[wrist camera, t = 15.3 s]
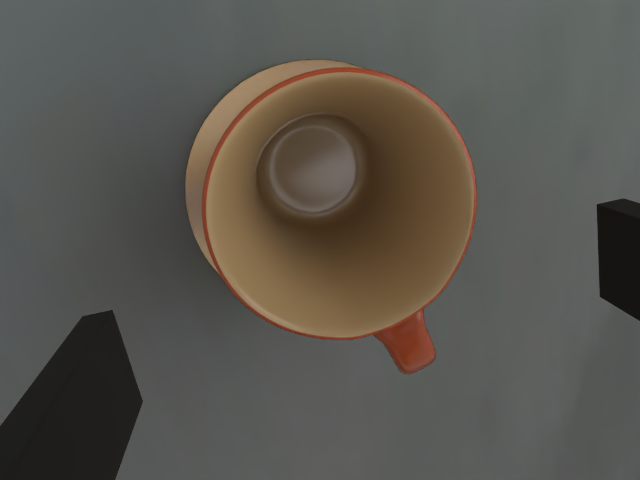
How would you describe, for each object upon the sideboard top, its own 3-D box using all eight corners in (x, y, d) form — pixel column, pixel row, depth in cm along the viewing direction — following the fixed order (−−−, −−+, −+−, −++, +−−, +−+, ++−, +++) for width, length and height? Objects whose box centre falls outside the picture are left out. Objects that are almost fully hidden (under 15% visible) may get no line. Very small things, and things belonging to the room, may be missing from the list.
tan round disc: (451, 282, 30) (453, 284, 29) (220, 333, 29) (220, 336, 28) (422, 36, 26) (424, 35, 25) (154, 88, 25) (153, 88, 25)
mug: (187, 126, 25) (144, 154, 15) (351, 39, 25) (413, 12, 15) (302, 327, 29) (327, 452, 19) (447, 253, 29) (546, 341, 19)
